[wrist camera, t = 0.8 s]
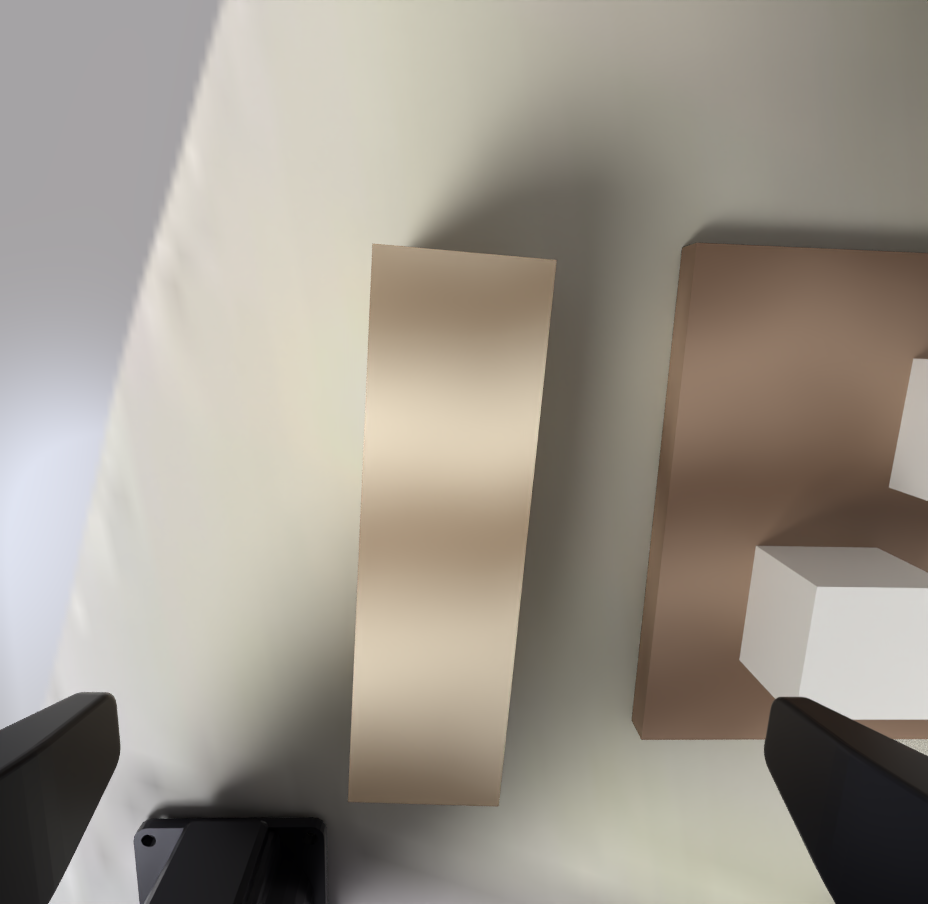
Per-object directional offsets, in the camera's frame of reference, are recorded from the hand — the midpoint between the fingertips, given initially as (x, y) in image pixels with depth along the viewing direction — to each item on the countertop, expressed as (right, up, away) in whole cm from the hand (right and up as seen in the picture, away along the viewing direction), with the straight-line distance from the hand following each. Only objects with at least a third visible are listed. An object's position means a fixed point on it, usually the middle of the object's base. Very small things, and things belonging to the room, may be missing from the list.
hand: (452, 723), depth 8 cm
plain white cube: (+11, -1, +11) cm, 16 cm away
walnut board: (+13, +2, +11) cm, 18 cm away
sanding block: (-1, +2, +11) cm, 11 cm away
